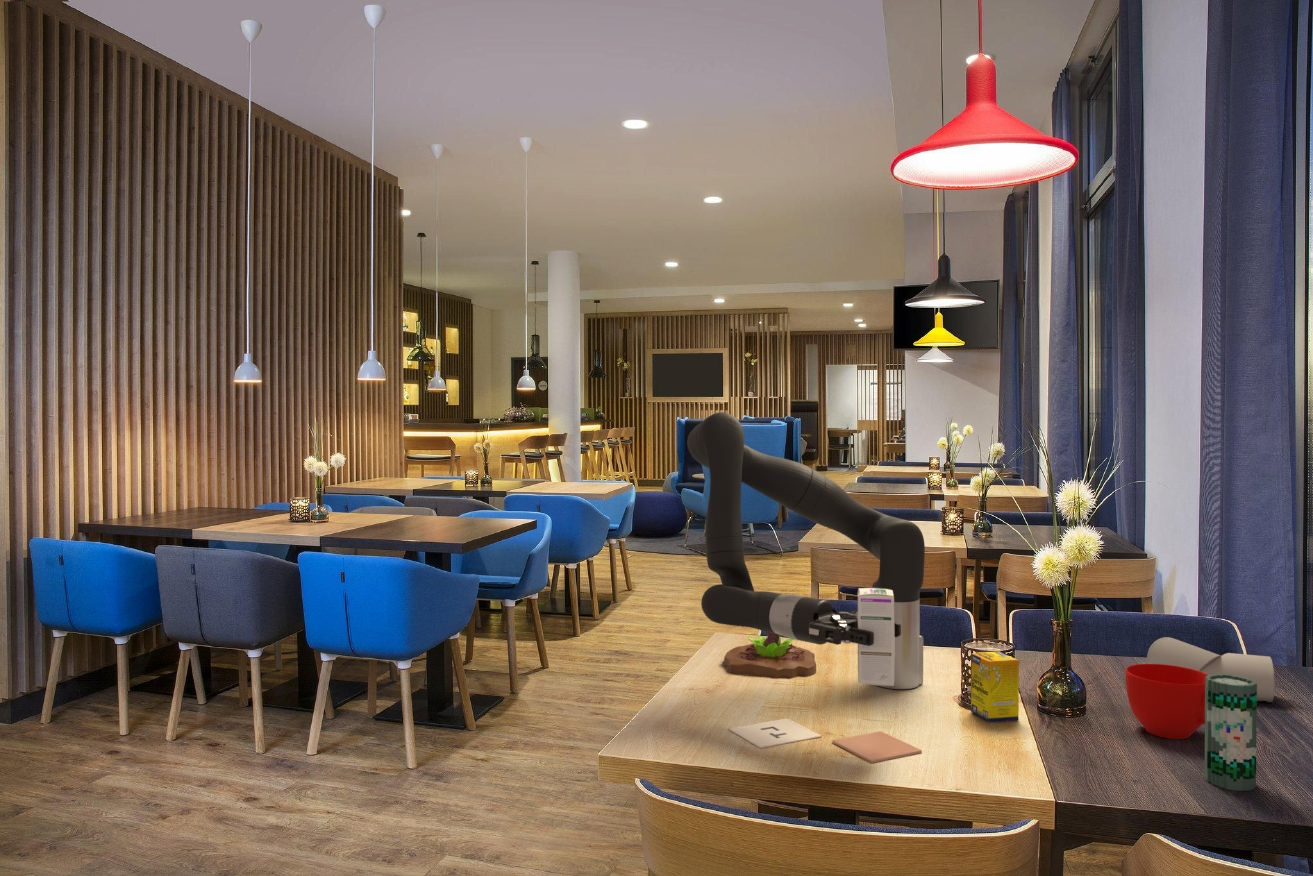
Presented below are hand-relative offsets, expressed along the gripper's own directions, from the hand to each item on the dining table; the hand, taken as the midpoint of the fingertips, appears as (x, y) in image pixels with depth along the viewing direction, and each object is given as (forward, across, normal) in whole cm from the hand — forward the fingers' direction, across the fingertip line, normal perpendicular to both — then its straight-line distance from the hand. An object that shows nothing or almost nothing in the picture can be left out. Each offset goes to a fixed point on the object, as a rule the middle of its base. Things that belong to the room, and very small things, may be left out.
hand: (886, 634), depth 146 cm
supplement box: (+5, +28, +19) cm, 35 cm away
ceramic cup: (+32, +40, +18) cm, 54 cm away
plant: (-45, +28, +20) cm, 56 cm away
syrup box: (-2, 0, +8) cm, 8 cm away
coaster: (-2, 0, +19) cm, 19 cm away
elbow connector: (+28, +74, +18) cm, 81 cm away
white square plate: (-18, -6, +19) cm, 26 cm away
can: (+43, +23, +18) cm, 52 cm away
